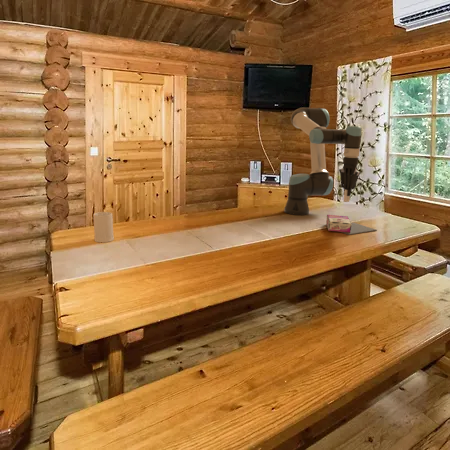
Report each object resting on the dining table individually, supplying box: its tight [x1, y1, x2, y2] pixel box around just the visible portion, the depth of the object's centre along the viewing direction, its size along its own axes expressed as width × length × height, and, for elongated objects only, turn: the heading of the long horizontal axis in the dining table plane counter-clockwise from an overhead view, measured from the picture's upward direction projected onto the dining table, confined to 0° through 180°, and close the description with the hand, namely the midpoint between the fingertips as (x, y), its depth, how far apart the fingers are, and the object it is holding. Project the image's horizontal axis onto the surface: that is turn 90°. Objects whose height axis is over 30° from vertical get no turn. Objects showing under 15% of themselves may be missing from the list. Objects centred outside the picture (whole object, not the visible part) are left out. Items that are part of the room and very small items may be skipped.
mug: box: [93, 211, 115, 244], centre depth 178 cm, size 12×8×12 cm
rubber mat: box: [326, 222, 378, 236], centre depth 208 cm, size 16×20×1 cm
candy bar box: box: [325, 214, 352, 233], centre depth 207 cm, size 11×5×16 cm
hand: (346, 201), depth 209 cm, fingers closed
